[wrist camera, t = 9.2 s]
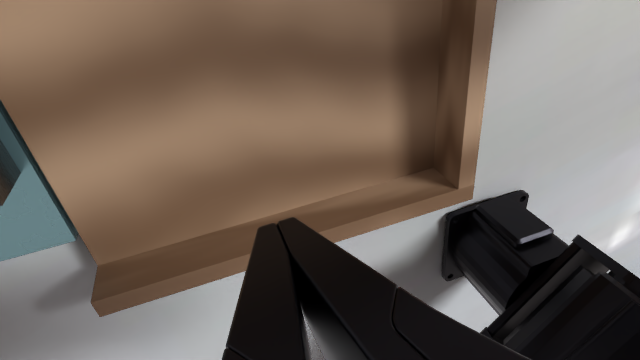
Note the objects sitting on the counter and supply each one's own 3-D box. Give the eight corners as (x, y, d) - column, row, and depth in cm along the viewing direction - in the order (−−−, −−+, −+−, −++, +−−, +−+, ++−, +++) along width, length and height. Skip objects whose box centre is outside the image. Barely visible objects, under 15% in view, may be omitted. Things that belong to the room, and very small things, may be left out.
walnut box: (438, 169, 26) (472, 198, 23) (107, 266, 22) (99, 317, 19) (461, -219, 16) (527, -252, 13) (-143, -177, 12) (-241, -212, 9)
